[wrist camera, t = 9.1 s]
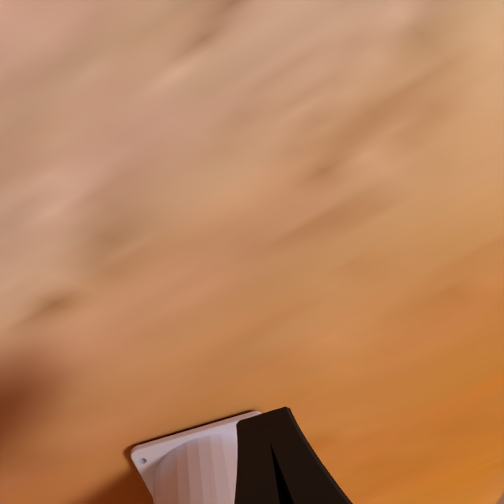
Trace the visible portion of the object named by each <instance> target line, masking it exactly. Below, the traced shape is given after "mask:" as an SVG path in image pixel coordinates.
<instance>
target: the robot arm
mask: <svg viewBox="0 0 504 504" xmlns="http://www.w3.org/2000/svg"><path fill="white" fill-rule="evenodd" d="M131 459H132V461H133V462H134V464H135V466H136V468H137V470H138V472H139V473H140V475H141V477H142V479H143V481H144V482H145V484H146V486H147V488H148V490H149V492H150V493H151V495H152V497H153V504H353V503H352V502H351V501H350V500H349V499H348V497H347V496H346V495H345V493H344V492H343V491H342V490H341V488H340V487H339V486H338V484H337V483H336V481H335V480H334V479H333V477H332V476H331V475H330V473H329V472H328V471H327V469H326V468H325V466H324V465H323V464H322V462H321V461H320V459H319V458H318V456H317V455H316V454H315V452H314V450H313V449H312V447H311V446H310V444H309V443H308V441H307V439H306V438H305V436H304V434H303V433H302V431H301V429H300V428H299V426H298V424H297V422H296V420H295V418H294V416H293V414H292V412H291V409H290V408H287V407H283V408H279V409H276V410H273V411H269V412H266V413H261V412H259V411H252V412H249V413H245V414H242V415H239V416H235V417H232V418H228V419H225V420H222V421H218V422H215V423H211V424H208V425H205V426H201V427H198V428H195V429H191V430H188V431H184V432H181V433H178V434H174V435H171V436H167V437H164V438H161V439H157V440H154V441H151V442H147V443H144V444H140V445H137V446H135V447H133V448H132V450H131Z"/></svg>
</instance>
